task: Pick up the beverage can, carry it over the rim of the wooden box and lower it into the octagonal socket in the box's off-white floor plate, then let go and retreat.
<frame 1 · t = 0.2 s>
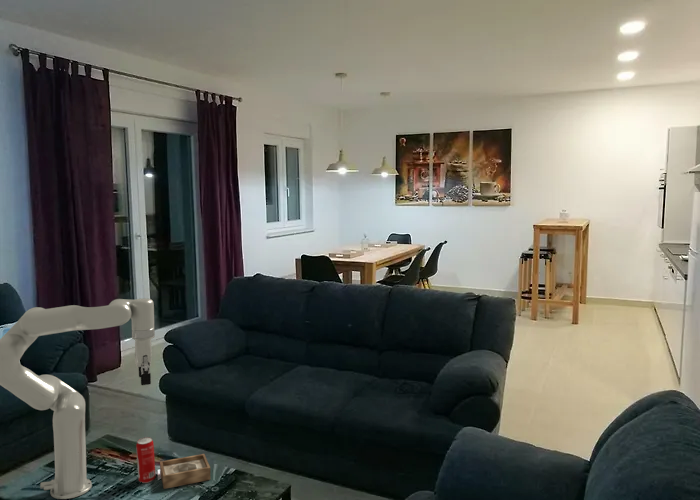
hand: (144, 380, 193), 36 cm above the table, tool pointing down, fingers open, 9 cm apart
wooden box: (185, 476, 196), on the table
beverage can: (146, 480, 193), on the table
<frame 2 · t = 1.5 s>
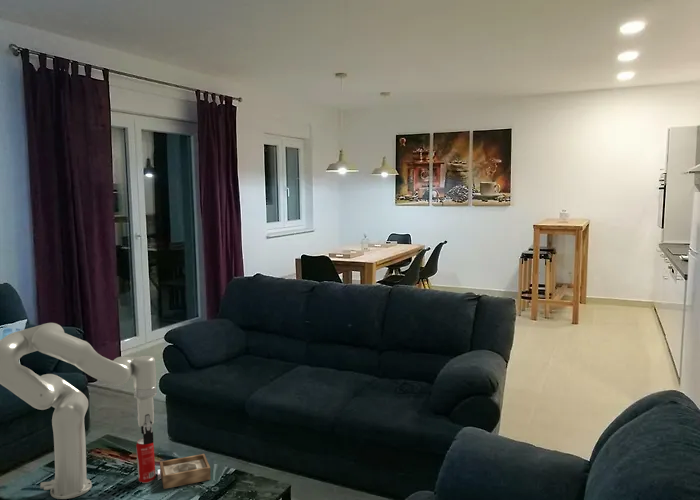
hand: (147, 438, 192), 15 cm above the table, tool pointing down, fingers open, 9 cm apart
nothing on the table moved.
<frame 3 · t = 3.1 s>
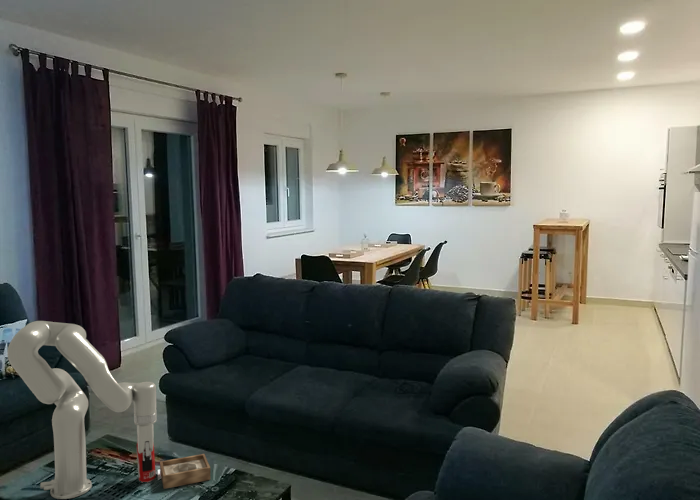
hand: (146, 466, 193), 5 cm above the table, tool pointing down, fingers closed on beverage can, 5 cm apart
beverage can: (146, 480, 193), on the table, touching gripper
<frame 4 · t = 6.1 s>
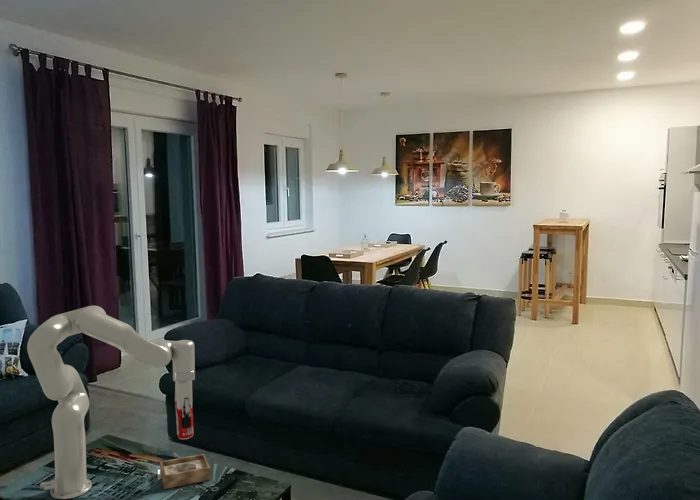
hand: (184, 423, 194), 20 cm above the table, tool pointing down, fingers closed on beverage can, 5 cm apart
beverage can: (184, 437, 195), point 15 cm above the table, touching gripper
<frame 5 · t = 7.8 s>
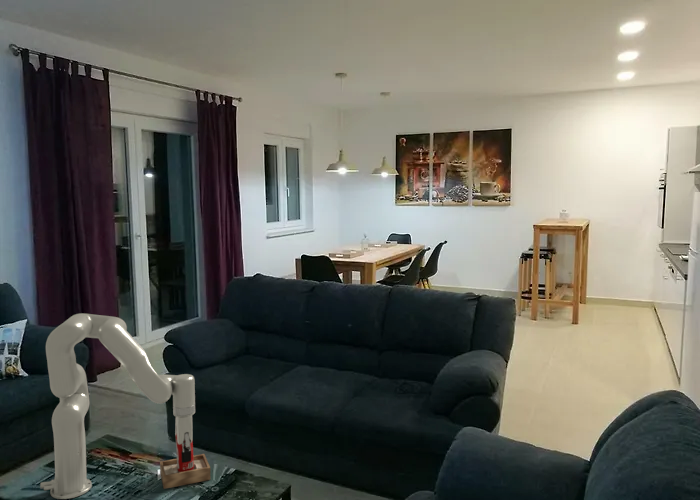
hand: (185, 457, 195), 7 cm above the table, tool pointing down, fingers closed on beverage can, 5 cm apart
beverage can: (185, 471, 196), point 2 cm above the table, touching gripper
when the fingers open (6 cm above the table, at t = 8.8 s): beverage can stays where it is, resting in wooden box.
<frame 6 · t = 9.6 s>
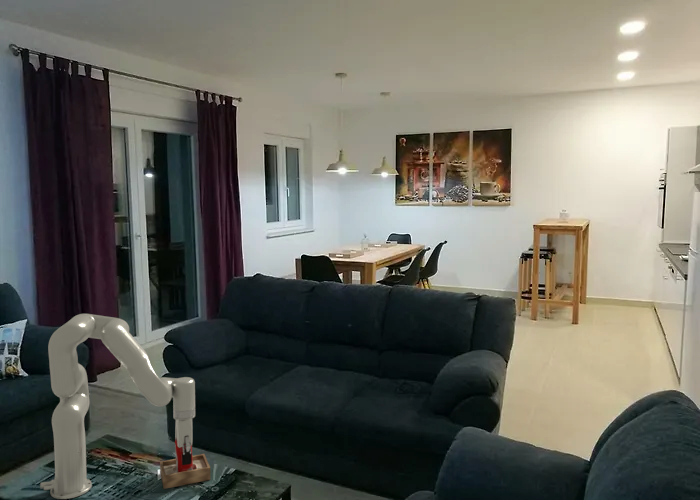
hand: (184, 458, 195), 7 cm above the table, tool pointing down, fingers open, 9 cm apart
beverage can: (184, 476, 196), resting in wooden box
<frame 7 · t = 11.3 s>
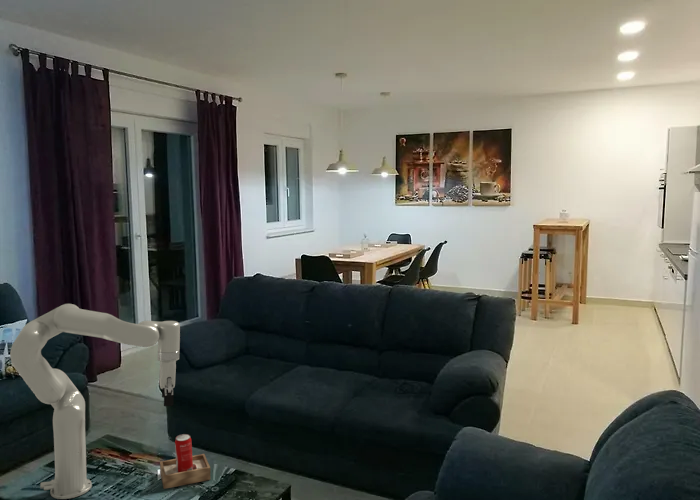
hand: (167, 401, 197), 27 cm above the table, tool pointing down, fingers open, 9 cm apart
nothing on the table moved.
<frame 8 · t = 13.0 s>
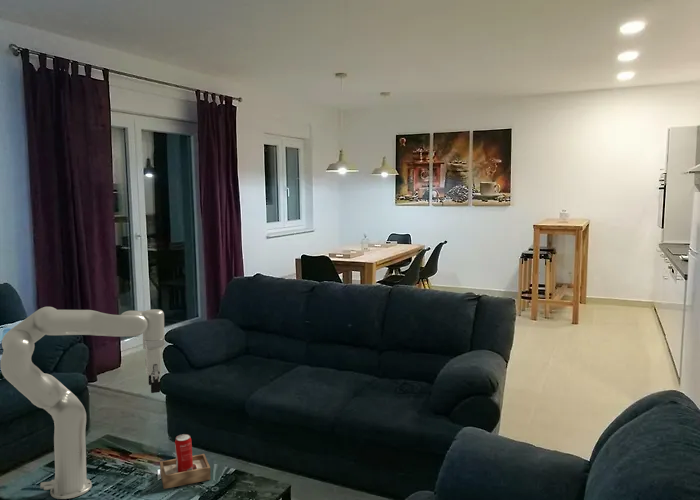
hand: (154, 388, 201), 30 cm above the table, tool pointing down, fingers open, 9 cm apart
nothing on the table moved.
at the end: beverage can 0.4 cm off-centre on the wooden box, point 0.0 cm above the wooden box's base; beverage can tilted 0°; the gripper is holding nothing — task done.
